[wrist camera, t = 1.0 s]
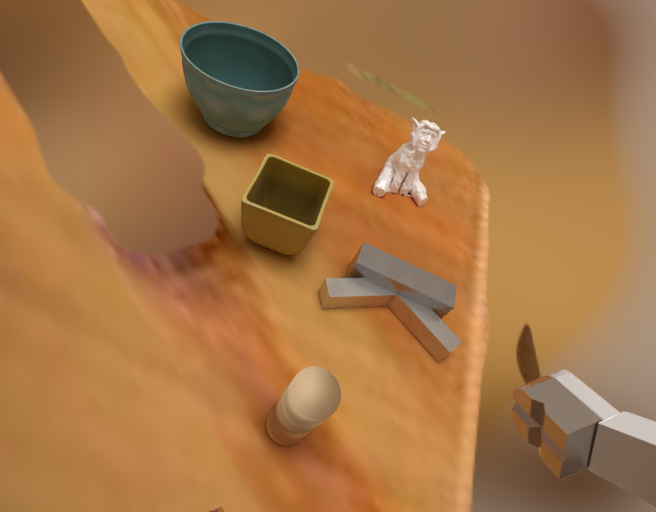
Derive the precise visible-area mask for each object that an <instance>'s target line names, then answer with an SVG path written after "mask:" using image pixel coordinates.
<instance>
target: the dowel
mask: <svg viewBox="0 0 656 512" xmlns="http://www.w3.org/2000/svg"><path fill="white" fill-rule="evenodd" d="M340 399H341V391H340V386H339V384H338V382H337V380H336V378H335V377H334V376H333V375H332V374H331V373H330V372H329V371H327V370H326V369H323V368H321V367H308V368H305V369H303V370H301V371H300V372H299V373H298V374H297V375H296V376H295V377H294V379H293V380H292V381H291V383H290V384H289V386H288V387H287V388H286V390H285V391H284V392H283V394H282V395H281V396H280V398H279V399H278V401H277V402H276V403H275V405H274V406H273V407H272V409H271V410H270V412H269V413H268V415H267V418H266V422H265V428H266V432H267V435H268V436H269V438H270V439H271V440H272V441H273V442H274V443H275V444H277V445H279V446H291V445H294V444H295V443H297V442H298V441H299V440H300V439H302V438H303V437H304V436H306V435H307V434H308V433H309V432H311V431H312V430H313V429H314V428H316V427H317V426H318V425H319V424H321V423H322V422H323V421H325V420H326V419H327V418H328V417H330V416H331V415H332V414H333V413H334V412H335V411H336V410H337V408H338V406H339V403H340Z"/></svg>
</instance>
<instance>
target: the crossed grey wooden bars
mask: <svg viewBox="0 0 656 512" xmlns="http://www.w3.org/2000/svg"><path fill="white" fill-rule="evenodd" d="M456 287H457V286H456V285H454V284H452V283H450V282H447V281H445V280H443V279H441V278H439V277H437V276H435V275H433V274H430V273H428V272H426V271H424V270H422V269H420V268H418V267H416V266H413V265H411V264H409V263H407V262H405V261H403V260H401V259H399V258H396V257H394V256H392V255H390V254H388V253H386V252H384V251H382V250H379V249H377V248H375V247H373V246H371V245H369V244H367V243H365V242H363V244H362V245H361V247H360V249H359V250H358V252H357V253H356V255H355V257H354V258H353V260H352V261H351V263H350V265H349V268H348V270H347V273H346V276H345V278H325V280H324V282H323V284H322V285H321V287H320V289H319V296H320V301H321V306H322V309H331V308H356V307H380V306H388V307H389V308H390V309H391V311H392V312H393V313H394V314H395V315H396V316H397V317H398V318H399V320H400V321H401V322H402V323H403V324H404V325H405V326H406V327H407V329H408V330H409V331H410V332H411V333H412V334H413V335H414V336H415V338H416V339H417V340H418V341H419V342H420V343H421V344H422V345H423V347H424V348H425V349H426V350H427V351H428V352H429V353H430V354H431V356H432V357H433V358H434V359H435V360H436V361H437V362H438V361H439V360H441V359H442V358H444V357H445V356H447V355H448V354H449V353H451V352H452V351H453V350H454V349H455V348H456V347H457V346H458V345H459V344H460V343H461V340H460V339H459V338H458V337H457V336H456V335H455V334H454V333H453V332H452V331H451V330H450V329H449V328H448V326H447V325H446V324H445V323H444V322H443V321H442V320H441V318H442V317H444V316H445V315H446V314H447V313H448V312H450V311H451V310H452V309H453V308H454V303H455V295H456Z"/></svg>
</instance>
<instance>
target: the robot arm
mask: <svg viewBox="0 0 656 512" xmlns="http://www.w3.org/2000/svg"><path fill="white" fill-rule="evenodd" d="M513 399H514V400H515V401H516V402H517V403H516V404H515V406H514V407H513V409H512V418H513V421H514V424H515V426H516V428H517V430H518V431H519V433H520V434H521V436H522V437H523V438H524V439H525V441H526V442H527V443H529V444H531V445H533V446H536V447H538V448H539V453H540V458H541V459H542V460H543V461H544V462H545V464H546V465H547V466H548V467H549V468H550V469H551V470H552V472H553V473H554V474H555V475H556V476H557V477H558V478H559V479H562V478H565V477H567V476H570V475H572V474H575V473H577V472H579V471H582V470H584V469H586V468H588V470H589V471H591V472H593V473H595V474H597V475H598V476H600V477H602V478H604V479H606V480H608V481H609V482H611V483H613V484H615V485H617V486H618V487H620V488H622V489H624V490H626V491H628V492H629V493H631V494H633V495H635V496H637V497H639V498H641V499H642V500H644V501H646V502H648V503H650V504H652V505H654V506H655V507H656V422H655V421H652V420H649V419H646V418H643V417H641V416H638V415H635V414H632V413H629V412H626V411H624V412H621V413H620V412H619V411H617V410H616V409H615V408H614V407H612V406H611V405H610V404H609V403H608V402H606V401H605V400H604V399H603V398H601V397H600V396H599V395H598V394H596V393H595V392H594V391H593V390H592V389H590V388H589V387H588V386H587V385H585V384H584V383H583V382H582V381H581V380H579V379H578V378H577V377H576V376H574V375H573V374H572V373H571V372H569V371H567V370H559V371H557V372H554V373H552V374H550V375H548V376H544V377H541V378H539V379H536V380H534V381H532V382H529V383H527V384H525V385H522V386H520V387H518V388H516V389H515V390H514V391H513ZM209 512H224V510H223V508H222V507H219V508H216V509H214V510H211V511H209Z"/></svg>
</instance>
